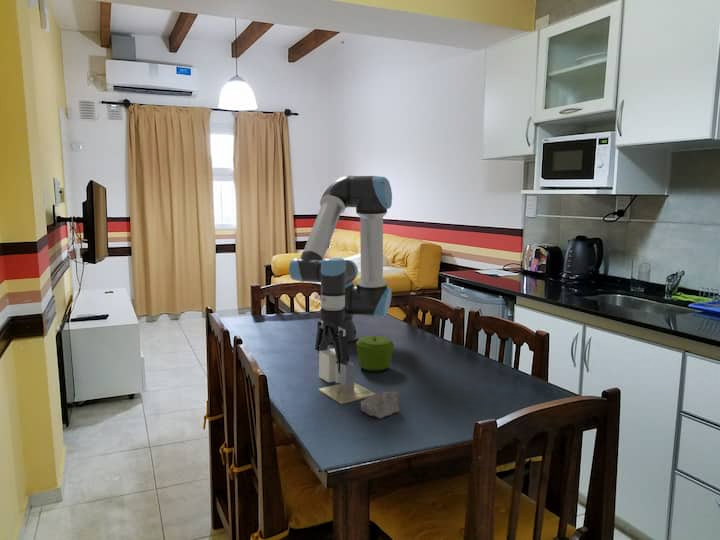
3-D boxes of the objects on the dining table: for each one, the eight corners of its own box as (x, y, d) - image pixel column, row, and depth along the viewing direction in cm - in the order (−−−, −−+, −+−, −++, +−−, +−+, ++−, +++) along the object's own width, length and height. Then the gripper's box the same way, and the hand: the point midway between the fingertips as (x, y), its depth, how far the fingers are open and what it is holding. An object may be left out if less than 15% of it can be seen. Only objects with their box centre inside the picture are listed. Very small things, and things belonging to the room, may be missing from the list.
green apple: (366, 377, 170) (367, 343, 168) (349, 365, 181) (350, 333, 179) (399, 371, 176) (400, 338, 174) (381, 361, 186) (382, 329, 185)
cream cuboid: (334, 373, 172) (334, 348, 171) (344, 379, 168) (344, 352, 166) (318, 377, 169) (319, 351, 168) (328, 382, 164) (329, 355, 163)
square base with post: (351, 382, 164) (352, 354, 163) (375, 395, 155) (376, 365, 154) (318, 390, 157) (319, 361, 156) (341, 404, 148) (342, 373, 147)
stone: (356, 410, 144) (357, 390, 143) (387, 404, 149) (387, 384, 148) (371, 422, 137) (372, 400, 136) (403, 415, 142) (404, 394, 141)
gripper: (304, 302, 171) (303, 370, 175) (341, 316, 154) (340, 390, 157) (324, 300, 176) (323, 366, 179) (362, 313, 159) (360, 385, 162)
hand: (331, 377), depth 168 cm, fingers open, 9 cm apart
